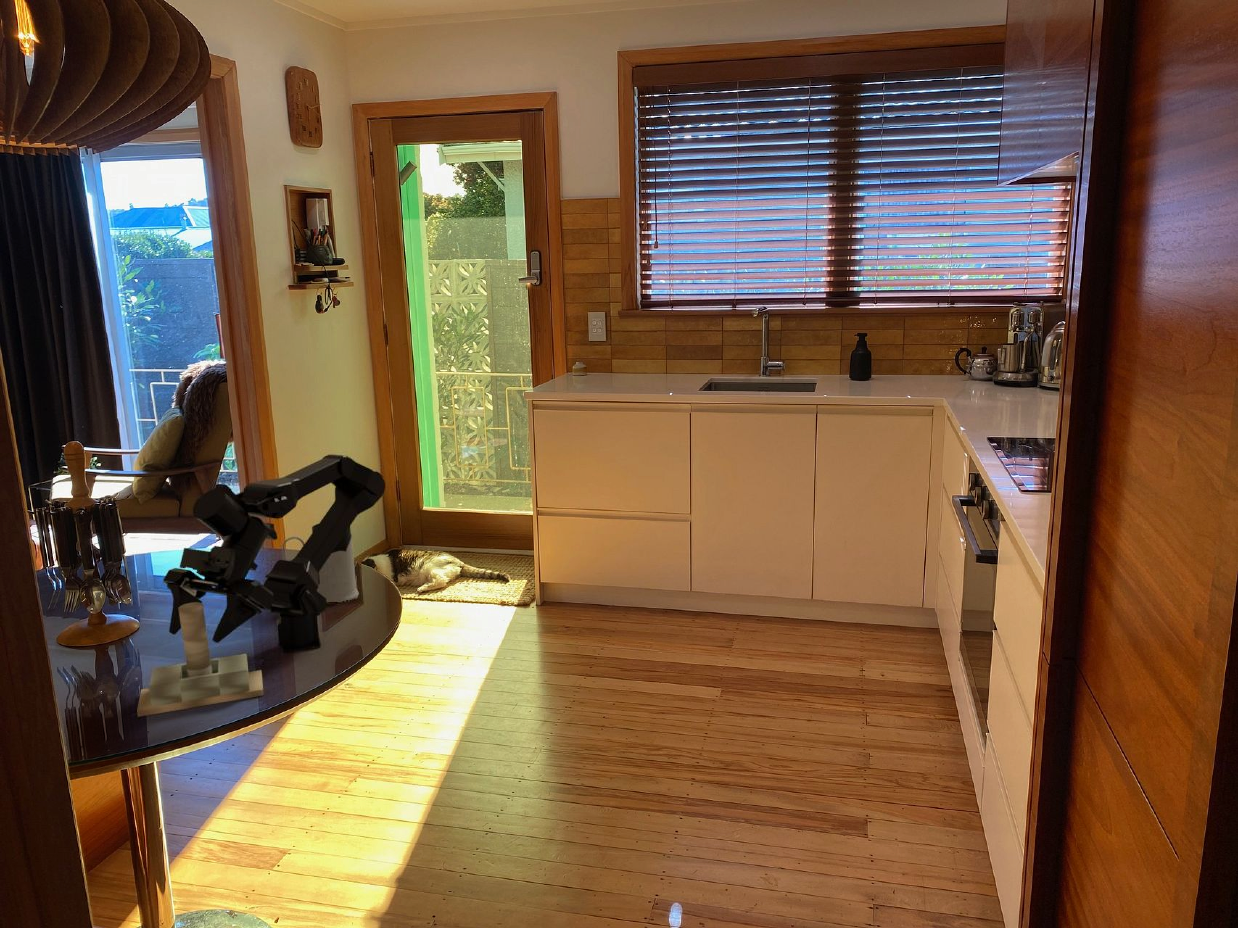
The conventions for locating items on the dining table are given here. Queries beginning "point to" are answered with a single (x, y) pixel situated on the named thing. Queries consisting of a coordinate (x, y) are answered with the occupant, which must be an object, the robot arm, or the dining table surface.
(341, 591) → the glass holder
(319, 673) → the dining table surface
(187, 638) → the beige bar
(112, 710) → the dining table surface
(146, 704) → the checkered slab
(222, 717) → the dining table surface
